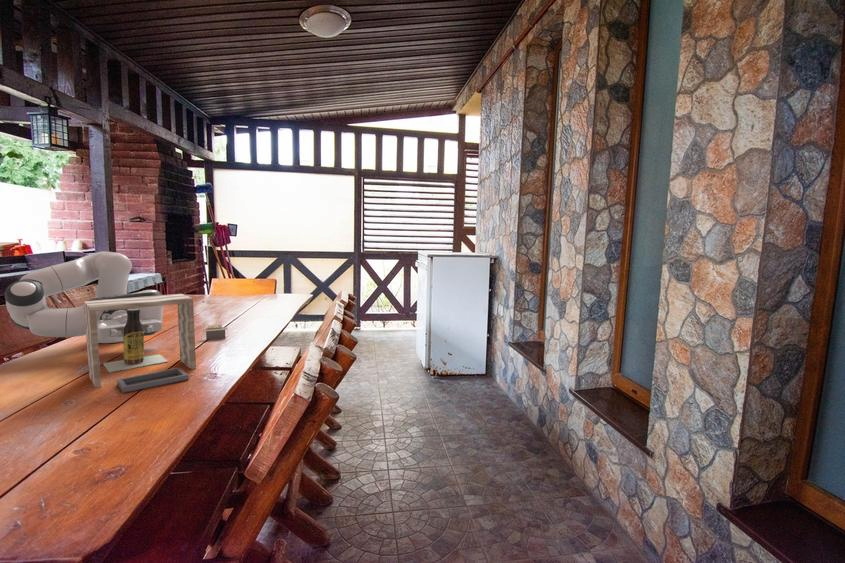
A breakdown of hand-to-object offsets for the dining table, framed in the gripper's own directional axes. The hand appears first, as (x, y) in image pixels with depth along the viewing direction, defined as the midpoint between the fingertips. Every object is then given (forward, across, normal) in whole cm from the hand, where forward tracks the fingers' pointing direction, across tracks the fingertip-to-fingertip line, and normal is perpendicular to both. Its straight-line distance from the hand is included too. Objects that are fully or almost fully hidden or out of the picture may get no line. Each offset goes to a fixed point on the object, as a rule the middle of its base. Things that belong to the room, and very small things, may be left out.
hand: (134, 332), depth 157 cm
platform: (-21, -35, -13) cm, 42 cm away
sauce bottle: (-1, 0, -12) cm, 12 cm away
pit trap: (+26, 0, -12) cm, 28 cm away
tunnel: (+13, 0, -12) cm, 17 cm away
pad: (-1, 0, -12) cm, 12 cm away
